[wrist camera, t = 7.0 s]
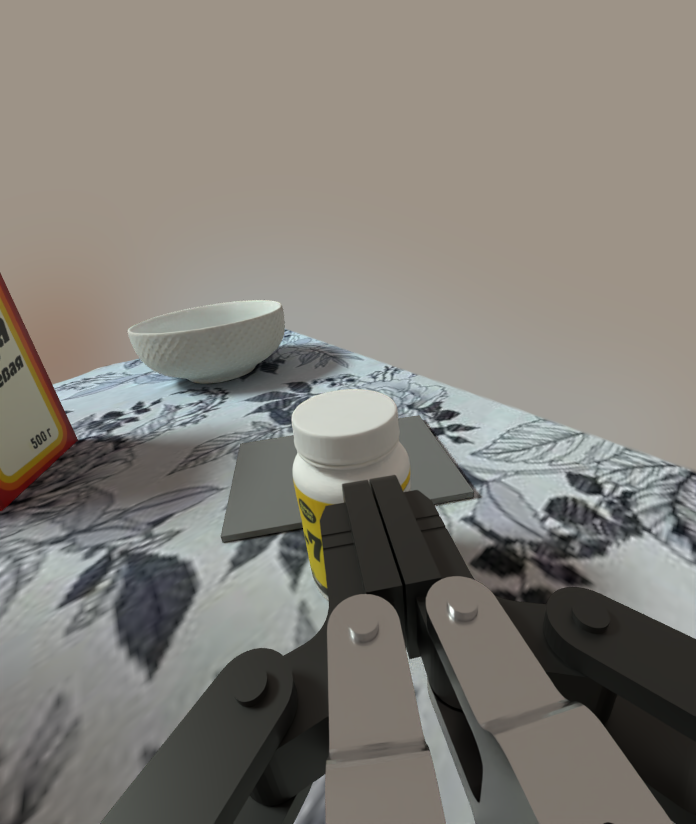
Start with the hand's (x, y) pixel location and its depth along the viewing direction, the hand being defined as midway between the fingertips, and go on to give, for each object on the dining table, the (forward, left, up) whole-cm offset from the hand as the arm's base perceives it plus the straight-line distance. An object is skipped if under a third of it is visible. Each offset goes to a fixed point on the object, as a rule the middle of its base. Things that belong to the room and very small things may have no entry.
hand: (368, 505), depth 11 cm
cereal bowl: (-38, +13, -8) cm, 41 cm away
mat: (-11, +8, -8) cm, 15 cm away
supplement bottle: (-4, +3, -8) cm, 9 cm away
